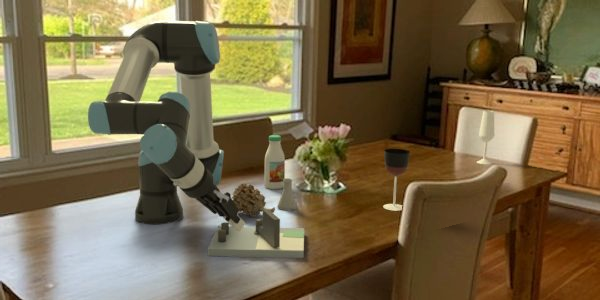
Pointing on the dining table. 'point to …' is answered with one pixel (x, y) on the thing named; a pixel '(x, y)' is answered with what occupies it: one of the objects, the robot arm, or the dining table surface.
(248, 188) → the pine cone
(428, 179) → the dining table surface
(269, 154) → the milk bottle
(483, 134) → the champagne flute
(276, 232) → the gate
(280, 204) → the flask
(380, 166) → the dining table surface
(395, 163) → the wineglass
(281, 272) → the dining table surface
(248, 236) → the board
